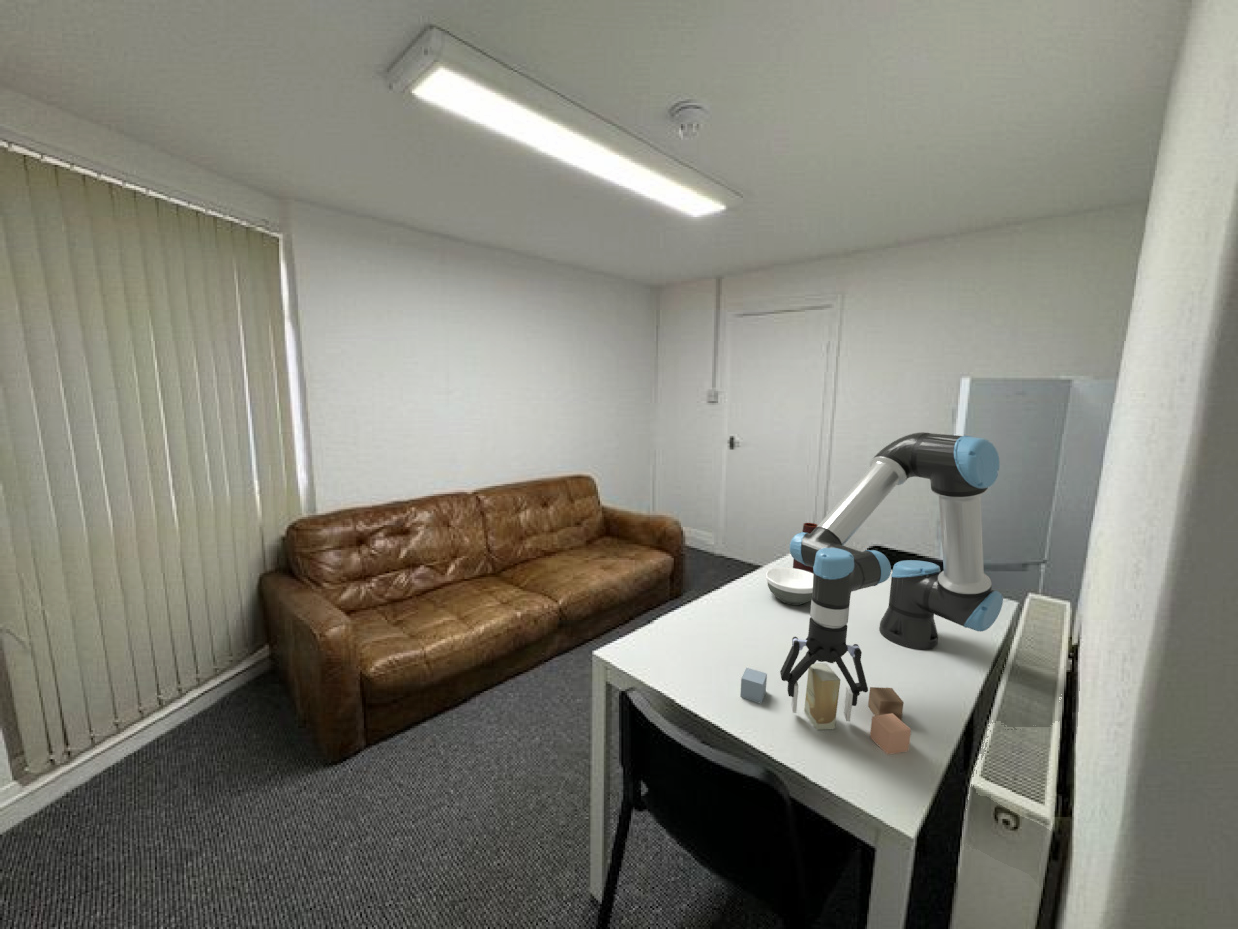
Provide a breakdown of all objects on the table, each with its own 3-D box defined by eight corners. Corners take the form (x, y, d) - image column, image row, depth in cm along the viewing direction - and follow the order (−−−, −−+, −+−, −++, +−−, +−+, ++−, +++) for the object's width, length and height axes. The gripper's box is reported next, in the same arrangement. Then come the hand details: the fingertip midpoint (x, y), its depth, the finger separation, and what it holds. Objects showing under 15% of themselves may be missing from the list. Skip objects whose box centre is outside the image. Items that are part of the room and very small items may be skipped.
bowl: (824, 596, 170) (826, 574, 169) (814, 617, 155) (817, 593, 153) (772, 584, 180) (773, 563, 179) (757, 602, 165) (759, 580, 163)
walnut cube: (889, 707, 111) (892, 688, 110) (901, 722, 106) (903, 702, 105) (867, 706, 111) (870, 687, 111) (878, 721, 106) (880, 701, 106)
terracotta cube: (889, 734, 103) (892, 713, 102) (908, 751, 98) (911, 729, 97) (869, 737, 101) (872, 716, 101) (887, 754, 97) (890, 733, 96)
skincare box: (803, 711, 109) (807, 662, 107) (821, 710, 110) (825, 661, 108) (817, 731, 103) (821, 679, 101) (836, 730, 103) (841, 679, 101)
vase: (795, 577, 187) (799, 527, 184) (790, 567, 198) (793, 520, 194) (824, 579, 185) (828, 529, 182) (817, 569, 196) (821, 521, 193)
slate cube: (765, 692, 116) (767, 673, 115) (761, 703, 112) (762, 684, 111) (745, 686, 118) (746, 667, 118) (740, 697, 114) (741, 678, 113)
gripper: (881, 618, 104) (871, 710, 107) (771, 606, 108) (765, 694, 112) (892, 635, 96) (881, 733, 100) (774, 622, 101) (767, 715, 105)
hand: (819, 712), depth 106 cm, fingers open, 10 cm apart
